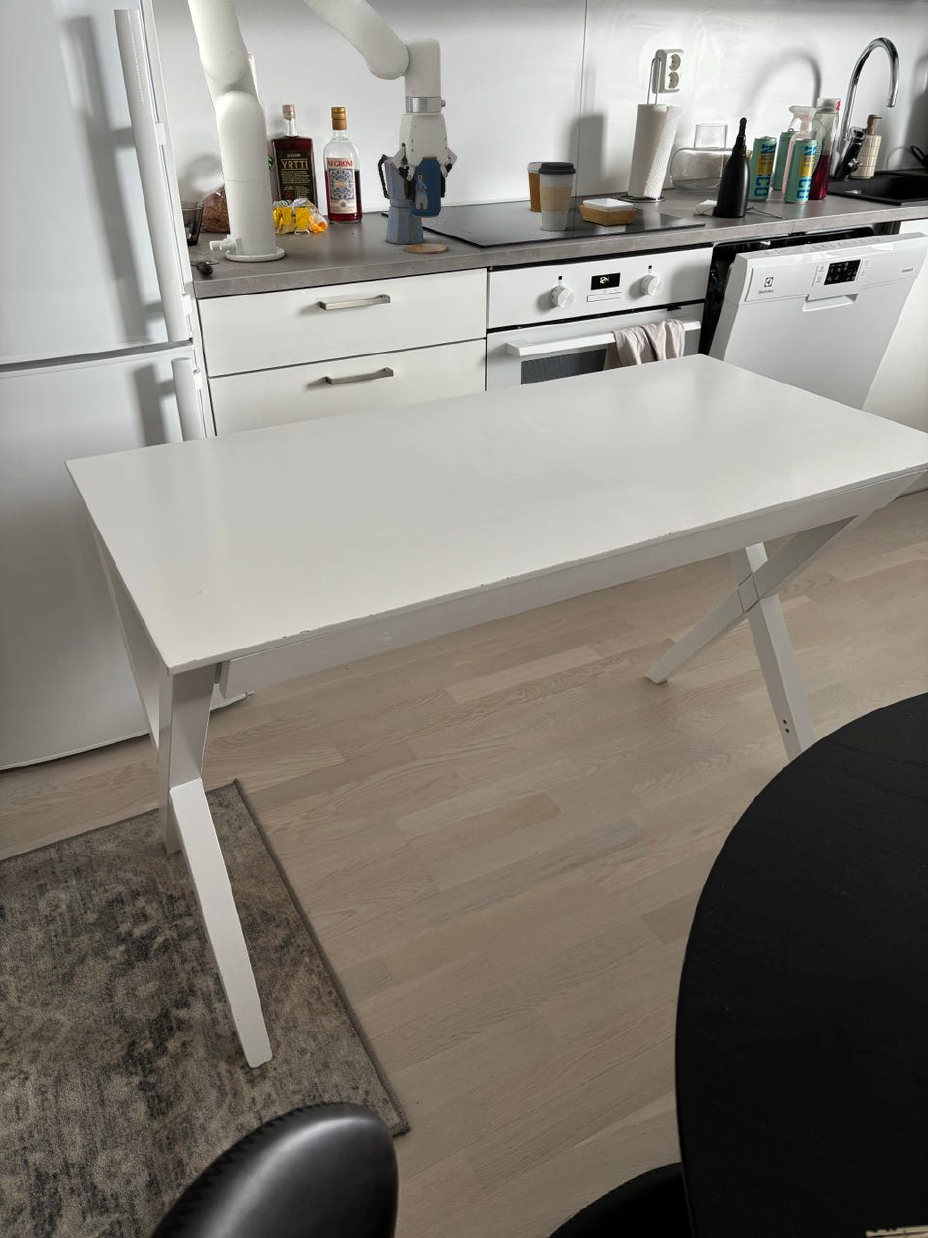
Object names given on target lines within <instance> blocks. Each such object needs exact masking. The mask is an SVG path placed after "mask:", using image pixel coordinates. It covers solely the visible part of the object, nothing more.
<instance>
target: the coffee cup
mask: <svg viewBox="0 0 928 1238" xmlns="http://www.w3.org/2000/svg"><path fill="white" fill-rule="evenodd" d="M544 162H545V163H542V164H541V168H539V171H538V173H540V204H541V212H540V213H541V229H542V231H543V230H544V231H548V232H562V231H565V230H566V229H567V228H566V227H567V222H568V214H569V210H570V206H571V199H572V194H573V193H572V192H573V181H574V175H575V174H577V171H576V168H575V165H574V163H573V162H566V161H544Z"/></svg>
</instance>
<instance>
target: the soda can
mask: <svg viewBox="0 0 928 1238" xmlns="http://www.w3.org/2000/svg"><path fill="white" fill-rule="evenodd" d="M422 159H423V160H422V161H421V162H420V164H419V165H418V166H416V167H415V172H414V175H413V177H412V180H414V182H415V200H412V201H411V200H410V211H411V213H412V215H413V216H414V217H418V218H421V219H430V218H437V217H439V215H440V214H441V211H442V198H441V170H440V164H439V162H438V160H437V157H428V158H422Z"/></svg>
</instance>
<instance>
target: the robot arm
mask: <svg viewBox="0 0 928 1238" xmlns="http://www.w3.org/2000/svg"><path fill="white" fill-rule="evenodd" d="M303 2H304V3H305V4H306V5H307V6H308V7H309V9H311V10H312V12H313V13H314V14H315V15H316V17H318V18H319V19H320V20H321V21H322V22H323V23H325V24H326V25H327V26H329V27H330V28H332V29H333V30H335V31H336V32H337V33H339V34H340V35H341V36H342V37H343V38H345V40H347V42H349V43H350V45H352V47H353V48H355V50H356V51H357V52H358V53H359V54H360V55H361V56H362V57H363V58H364V60H365V64H366V67H367V69H368V70H369V73H371V74H372V75H373V76H375V78H378V79H381V80H386V81H395V80H397V79H399V78H401V77H403V78H404V96H405V97H404V98H405V99H404V100H405V113H404V114H401V119H400V126H399V135H398V137H399V139H398V151H397V152H396V153H395V154H394V155H393V156H392V157H393V158H392V159H391V164H392V165H393V167H394V168H395V169H396V171H397V172H398V173H399V175H400V176H401V178H402V179H404V195H405V198H406V199H407V200H411V201H412V200H415V182H414V180H412V177H413V175H414V172H415V167H416V166H418V165H419V164H420V162H421V161H422V160H423V159H422V158H428V157H437V160H438V162H439V164H440V170H441V199H443V198H444V199H445V198H446V192H447V191H446V189H447V188H446V187H447V185H446V182H447V181H446V179H447V178H448V177H449V173H450V172H451V170H452V169H453V166H454V165H455V163H456V161H457V160H458V156H457V155H456V154H455V153H454V152H453V150H451V148H450V147H448V145H449V144H448V134H447V133H448V132H447V126H446V125H447V124H446V120H445V115H444V113H442V109H443V108H445V107H446V105H447V101H446V100H445V99H442V83H441V81H442V79H441V78H442V77H441V75H442V73H441V71H442V69H441V45H440V42H439V40H437V39H436V38H433V37H411V38H407V39H401V38H400V37H399V36H398V35H397V33H396V32H395V31H394V30H393V28H392V27H391V26H389V24H388V23H387V22H386V21H385V20H384V18H383V17H381V15H379V13H378V12H377V11H376V10H375V9H374V8H373V7H372V6H371V5H370V4H369V2H367V0H303ZM187 3H188V8H189V12H190V16H191V21H192V24H193V28H194V32H195V35H196V40H197V43H198V49H199V59H200V63H201V67H202V69H203V73H204V76H205V81H206V84H207V88H208V91H209V94H210V98H211V101H212V105H213V109H214V113H215V119H216V129H217V135H218V143H219V151H220V159H221V165H222V175H223V176H222V177H223V181H224V190H225V198H226V205H227V215H228V223H229V231H230V234H226V237H225V238H223V240H210V241H209V248H210V251H212V252H214V251H221V252H223V251H224V252H225V258H226V259H228V260H230V261H235V262H249V263H251V262H254V263H255V262H267V261H274V260H279V259H282V258H284V256H285V250H284V248H281V247H279V246H277V236H276V226H275V225H276V224H275V216H274V206H273V195H272V186H271V185H272V184H271V177H270V167H269V166H270V165H269V154H268V143H267V140H268V139H267V125H266V119H265V118H266V117H265V113H264V110H263V108H262V106H261V104H260V101H259V97H258V92H257V88H256V85H255V81H254V76H253V73H252V68H251V65H250V60H249V52H248V48H247V46H246V44H245V41H244V39H243V36H242V32H241V28H240V24H239V20H238V17H237V12H236V8H235V3H234V0H187ZM400 163H401V164H402V165H405V167H404V168H403V167H402V166H401V164H400Z"/></svg>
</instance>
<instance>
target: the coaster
mask: <svg viewBox="0 0 928 1238" xmlns="http://www.w3.org/2000/svg"><path fill="white" fill-rule="evenodd" d="M405 251H406V252H408V253H411V254H419V255H432V254H441V253H445V252H446V251H447V247H446V246H445V245H442V244H435V243H417V244H410V245H408V246H405Z"/></svg>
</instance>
